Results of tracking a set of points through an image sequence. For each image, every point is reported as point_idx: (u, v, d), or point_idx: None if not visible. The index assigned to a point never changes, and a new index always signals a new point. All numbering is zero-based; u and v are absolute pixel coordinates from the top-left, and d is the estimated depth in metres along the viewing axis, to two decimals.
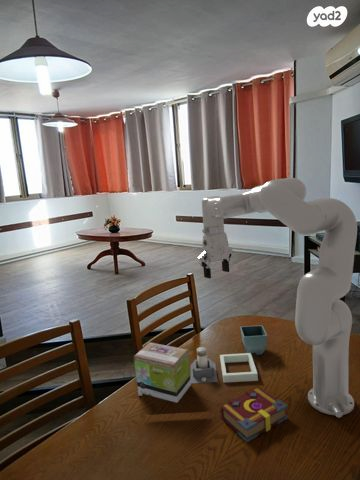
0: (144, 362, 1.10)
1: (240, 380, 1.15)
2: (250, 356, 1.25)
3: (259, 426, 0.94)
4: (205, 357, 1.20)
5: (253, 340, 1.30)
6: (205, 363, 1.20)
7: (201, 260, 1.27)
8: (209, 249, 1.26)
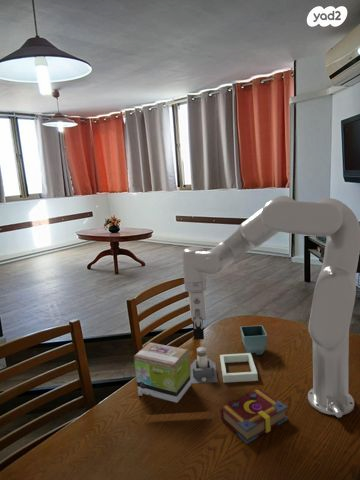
0: (144, 362, 1.10)
1: (240, 380, 1.15)
2: (250, 356, 1.25)
3: (258, 427, 0.93)
4: (205, 357, 1.20)
5: (253, 340, 1.30)
6: (205, 363, 1.20)
7: (199, 321, 1.10)
8: (203, 307, 1.12)
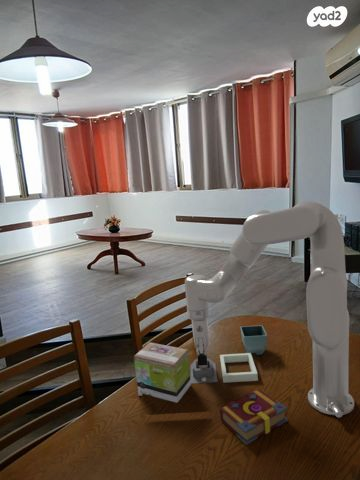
0: (144, 362, 1.10)
1: (240, 380, 1.15)
2: (250, 356, 1.25)
3: (258, 429, 0.93)
4: None
5: (253, 340, 1.30)
6: None
7: (203, 351, 1.15)
8: (206, 334, 1.14)
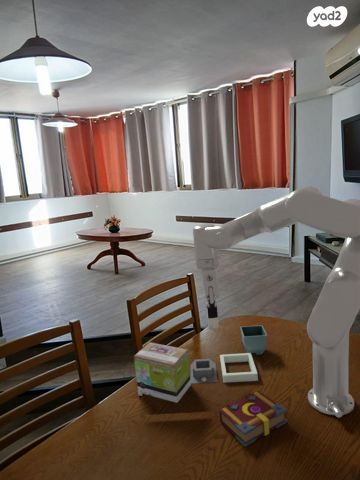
0: (144, 362, 1.10)
1: (240, 380, 1.15)
2: (250, 356, 1.25)
3: (257, 430, 0.92)
4: None
5: (253, 340, 1.30)
6: None
7: (213, 301, 1.11)
8: (216, 284, 1.11)
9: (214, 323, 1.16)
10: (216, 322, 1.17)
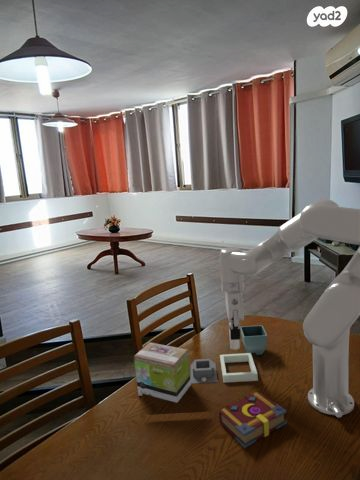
0: (144, 362, 1.10)
1: (240, 380, 1.15)
2: (250, 356, 1.25)
3: (257, 431, 0.92)
4: None
5: (253, 340, 1.30)
6: None
7: (237, 324, 1.13)
8: (241, 307, 1.12)
9: (236, 344, 1.18)
10: (238, 343, 1.19)
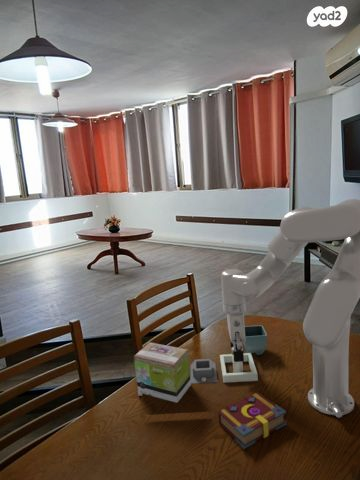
0: (144, 362, 1.10)
1: (240, 380, 1.15)
2: (250, 356, 1.25)
3: (256, 432, 0.91)
4: None
5: (253, 340, 1.30)
6: (240, 362, 1.19)
7: (240, 344, 1.11)
8: (243, 329, 1.13)
9: (239, 369, 1.19)
10: (241, 368, 1.20)
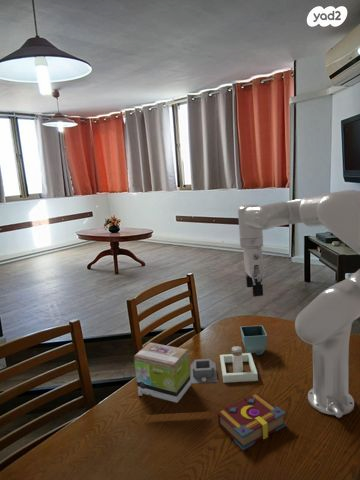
0: (144, 362, 1.10)
1: (240, 380, 1.15)
2: (250, 356, 1.25)
3: (255, 434, 0.91)
4: (241, 356, 1.19)
5: (253, 340, 1.30)
6: (240, 362, 1.19)
7: None
8: (262, 262, 1.13)
9: (239, 369, 1.19)
10: (241, 368, 1.20)
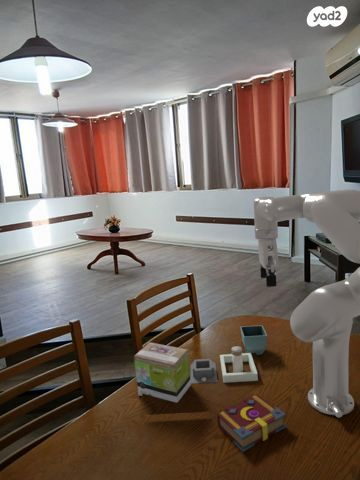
0: (144, 362, 1.10)
1: (240, 380, 1.15)
2: (250, 356, 1.25)
3: (255, 435, 0.91)
4: (240, 356, 1.19)
5: (253, 340, 1.30)
6: (240, 362, 1.19)
7: None
8: (276, 253, 1.15)
9: (239, 369, 1.19)
10: (241, 368, 1.20)
